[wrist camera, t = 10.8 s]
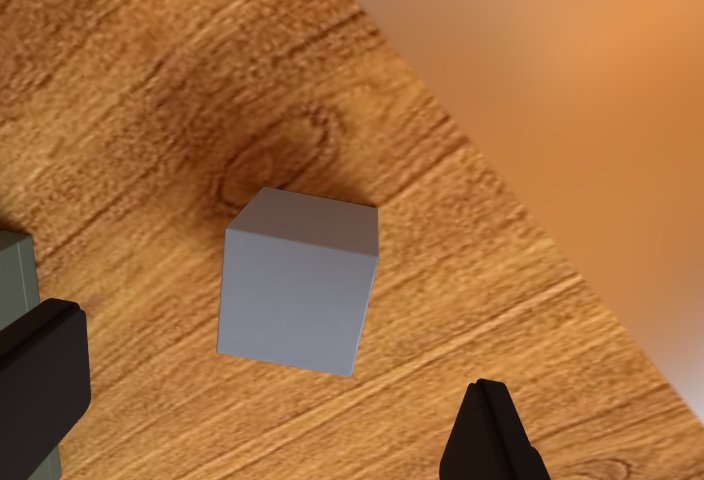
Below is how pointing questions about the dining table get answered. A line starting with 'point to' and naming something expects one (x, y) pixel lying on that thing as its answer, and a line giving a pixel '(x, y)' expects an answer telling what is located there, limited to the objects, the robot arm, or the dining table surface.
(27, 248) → the cabinet
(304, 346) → the block
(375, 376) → the dining table surface
